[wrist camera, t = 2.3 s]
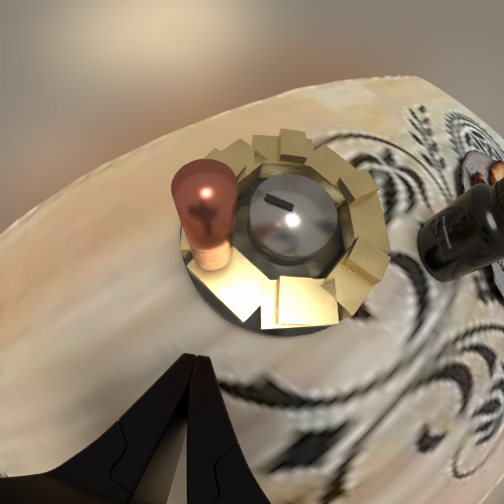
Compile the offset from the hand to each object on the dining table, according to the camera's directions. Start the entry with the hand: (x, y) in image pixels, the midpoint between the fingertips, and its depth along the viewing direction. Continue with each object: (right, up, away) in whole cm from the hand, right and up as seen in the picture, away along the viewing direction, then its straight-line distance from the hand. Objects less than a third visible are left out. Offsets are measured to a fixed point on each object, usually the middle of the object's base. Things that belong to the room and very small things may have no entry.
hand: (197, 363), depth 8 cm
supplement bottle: (+21, +4, +15) cm, 26 cm away
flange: (+4, +5, +14) cm, 16 cm away
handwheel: (+4, +5, +12) cm, 14 cm away
